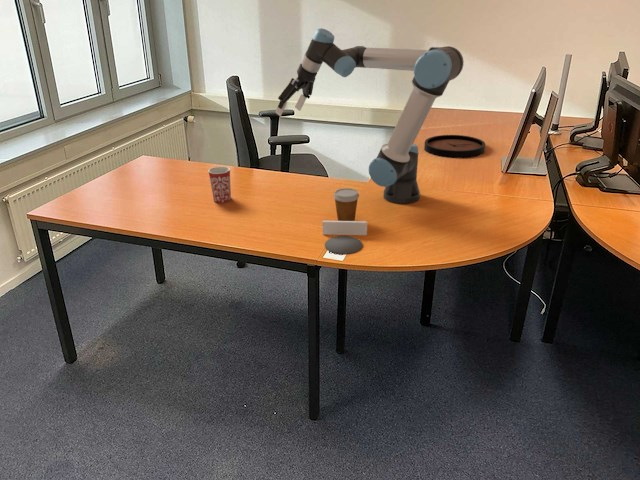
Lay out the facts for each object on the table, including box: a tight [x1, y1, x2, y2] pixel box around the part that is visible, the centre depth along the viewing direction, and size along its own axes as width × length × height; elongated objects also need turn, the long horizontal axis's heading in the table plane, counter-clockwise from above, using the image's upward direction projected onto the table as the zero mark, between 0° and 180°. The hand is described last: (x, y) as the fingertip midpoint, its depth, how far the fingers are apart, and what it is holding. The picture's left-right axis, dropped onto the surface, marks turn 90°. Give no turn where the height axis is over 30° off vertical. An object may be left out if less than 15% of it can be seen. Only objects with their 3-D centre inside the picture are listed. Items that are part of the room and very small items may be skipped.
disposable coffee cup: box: [333, 187, 360, 221], centre depth 199 cm, size 10×10×12 cm
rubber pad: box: [324, 235, 363, 255], centre depth 184 cm, size 13×13×1 cm
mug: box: [207, 165, 232, 204], centre depth 223 cm, size 13×9×14 cm
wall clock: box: [423, 134, 486, 159], centre depth 282 cm, size 31×4×31 cm
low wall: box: [321, 220, 368, 236], centre depth 191 cm, size 16×1×5 cm, turn 85°
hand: (287, 111), depth 221 cm, fingers open, 13 cm apart
